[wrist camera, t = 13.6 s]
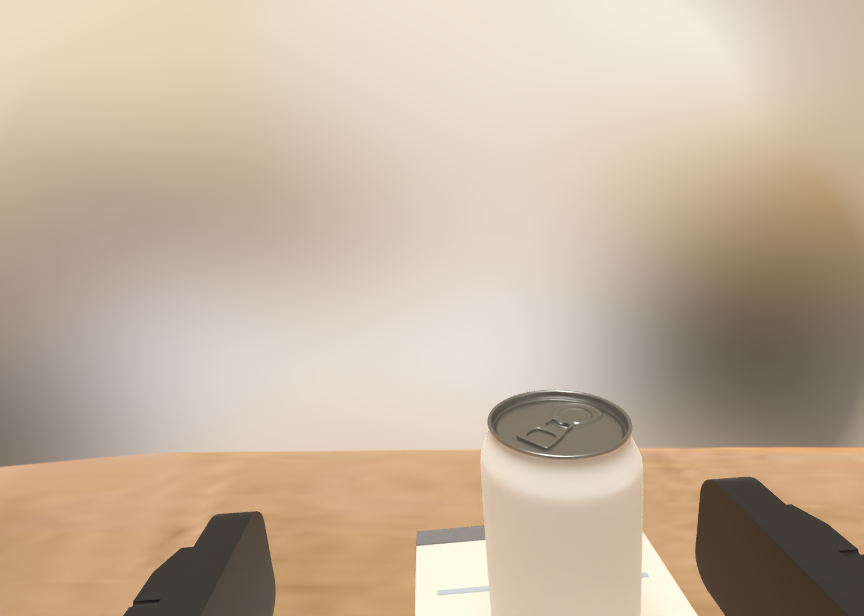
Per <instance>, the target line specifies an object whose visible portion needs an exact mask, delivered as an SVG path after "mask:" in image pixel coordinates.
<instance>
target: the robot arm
mask: <svg viewBox="0 0 864 616" xmlns="http://www.w3.org/2000/svg"><path fill="white" fill-rule="evenodd" d="M695 554H696V562H697V566H698V570H699V573H700V576H701V578H702V581H703V583H704V585H705V587H706V588H707V590H708V592H709V593H710V594H711V596H712V597H713V599H714V600H715V601H716V603H717V604H718V606H719V607H720V609H721V610H722V611H723V613H724V614H725V616H864V555H860V554H859V552H858V549H857V548H856V547H855V546H853V545H852V544H851V543H850V542H849V541H847V540H846V539H845V538H844V537H843V536H841V535H840V534H839V533H838V532H837V531H835V530H834V529H833V528H832V527H831V526H829V525H828V524H827V523H825V522H823V521H821V520H819V519H817V518H815V517H814V516H812V515H810V514H808V513H806V512H804V511H803V510H801V509H799V508H797V507H795V506H793V505H786V504H784V503H783V502H782V501H781V500H780V499H779V498H778V497H776V496H775V495H774V494H773V493H772V492H771V491H770V490H769V489H767V488H766V487H765V486H764V485H763V484H762V483H761V482H759V481H758V480H757V479H755V478H753V477H738V478H724V479H711V480H706V481H705V482H704V483H703V484H702V487H701V492H700V503H699V514H698V526H697V537H696V549H695ZM274 604H275V578H274V573H273V567H272V562H271V556H270V551H269V545H268V540H267V535H266V529H265V524H264V519H263V516H262V514H261V513H260V512H258V511H256V512H242V513H228V514H217V515H215V516H213V517H212V518H211V520H210V521H209V523H208V524H207V526H206V527H205V529H204V531H203V532H202V534H201V536H200V537H199V539H198V540H197V542H196V544H195V545H194V547H187V548H181V549H179V550H178V551H177V552H176V553H175V554H174V555H173V556H171V557H170V558H169V559H168V560H167V561H166V562H165V563H163V564H162V565H161V566H160V567H159V568H158V569H156V570H155V571H154V572H153V573H152V575H151V576H150V578H149V579H148V581H147V582H146V583H145V585H144V586H143V588H142V589H141V591H140V592H139V594H138V595H137V597H136V598H135V600H134V601H133V606H132V607H129V608H128V610H127V611H126V613H125V614H124V616H273V611H274Z"/></svg>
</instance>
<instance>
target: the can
mask: <svg viewBox="0 0 864 616" xmlns="http://www.w3.org/2000/svg"><path fill="white" fill-rule="evenodd" d="M488 427H489V431H488V434H487V436H486V438H485V440H484V443H483V445H482V449H481V459H480V461H481V482H482V497H483V512H484V527H485V541H486V555H487V568H488V582H489V596H490V609H491V616H641V583H642V534H643V464H642V457H641V454H640V452H639V450H638V447H637V445H636V444H635V442H634V440H633V438H632V436H631V433H632V422H631V420H630V418H629V416H628V415H627V413H626V412H625V411H624V410H622V409H621V408H620V407H619V406H617V405H616V404H614V403H612V402H610V401H608V400H605V399H603V398H601V397H598V396H594V395H591V394H587V393H581V392H576V391H567V390H541V391H534V392H527V393H523V394H519V395H516V396H513V397H510V398H508V399H506V400H504V401H502V402H500V403H499V404H498V405H496V406H495V407H494V408H493V409H492V411H491V412H490V414H489V417H488Z"/></svg>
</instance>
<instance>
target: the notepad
mask: <svg viewBox="0 0 864 616" xmlns="http://www.w3.org/2000/svg"><path fill="white" fill-rule="evenodd" d="M416 545H417V551H416V596H415V616H491V609H490V596H489V582H488V568H487V555H486V541H485V527H484V526H474V527H463V528H451V529H440V530H429V531H417V543H416ZM641 616H697V614H696V613H695V611H694V610H693V608H692V606H691V605H690V603H689V602H688V600H687V599H686V597H685V596H684V594H683V593H682V591H681V590H680V588H679V587H678V585H677V583H676V582H675V580H674V579H673V577H672V576H671V574H670V573H669V571H668V570H667V568H666V567H665V565H664V563H663V562H662V560H661V559H660V557H659V556H658V554H657V553H656V551H655V550H654V548H653V547H652V545H651V544H650V542H649V540H648V539H647V537H646V536H645V534H644V533H643V534H642V583H641Z"/></svg>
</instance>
